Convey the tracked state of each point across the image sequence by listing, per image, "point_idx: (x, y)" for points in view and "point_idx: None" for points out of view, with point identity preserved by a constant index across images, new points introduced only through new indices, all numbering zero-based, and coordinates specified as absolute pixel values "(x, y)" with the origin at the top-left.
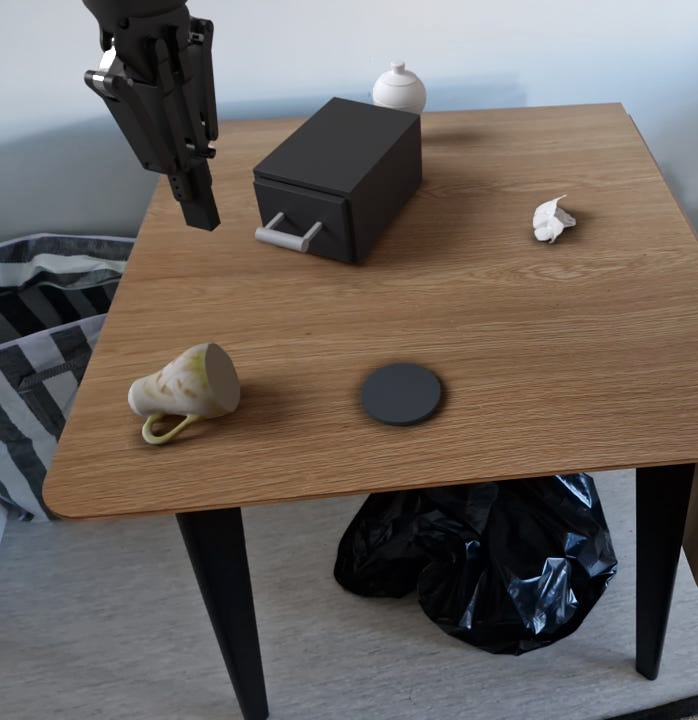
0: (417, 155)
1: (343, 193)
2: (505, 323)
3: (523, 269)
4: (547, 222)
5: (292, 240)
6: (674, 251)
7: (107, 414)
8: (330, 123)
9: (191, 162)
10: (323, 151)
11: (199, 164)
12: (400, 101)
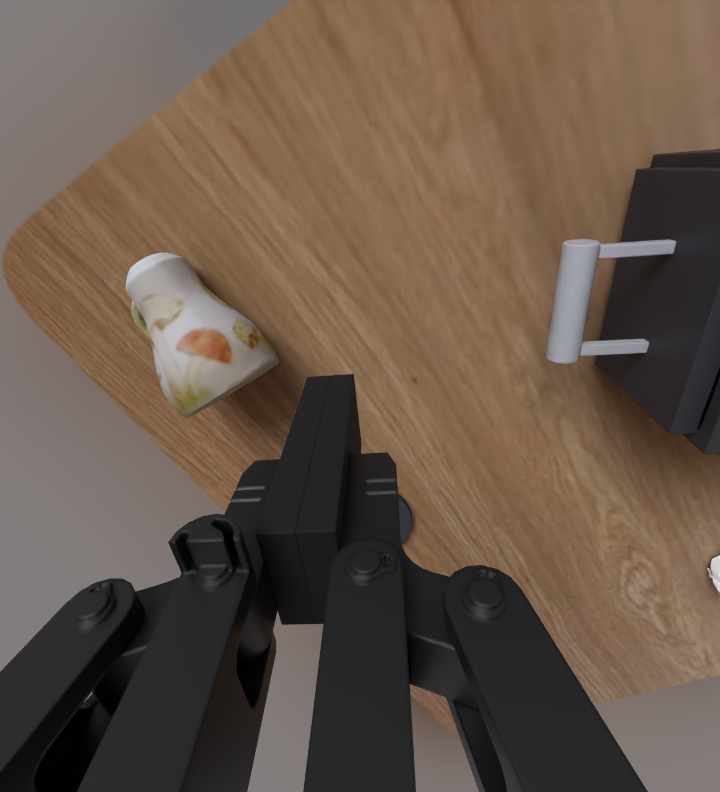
0: None
1: (704, 436)
2: (522, 565)
3: (638, 555)
4: None
5: (561, 340)
6: (705, 663)
7: (126, 210)
8: None
9: (315, 597)
10: None
11: (319, 623)
12: None
